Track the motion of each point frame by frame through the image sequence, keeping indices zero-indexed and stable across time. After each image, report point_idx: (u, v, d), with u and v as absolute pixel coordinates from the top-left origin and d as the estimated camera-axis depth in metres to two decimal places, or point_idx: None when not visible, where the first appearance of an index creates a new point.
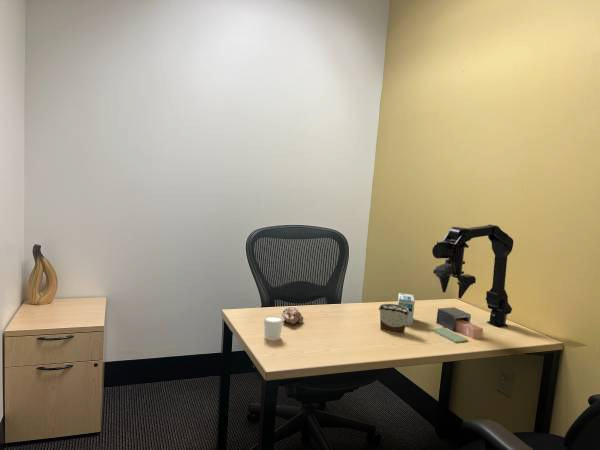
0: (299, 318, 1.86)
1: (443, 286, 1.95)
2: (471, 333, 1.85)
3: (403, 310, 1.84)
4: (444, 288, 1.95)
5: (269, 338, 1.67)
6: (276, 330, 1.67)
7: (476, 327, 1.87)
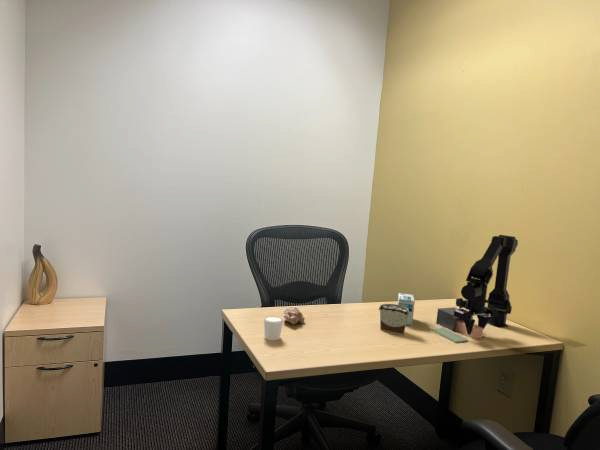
0: (300, 318, 1.86)
1: None
2: (471, 332, 1.85)
3: (403, 310, 1.84)
4: None
5: (269, 338, 1.67)
6: (276, 330, 1.67)
7: (476, 326, 1.87)
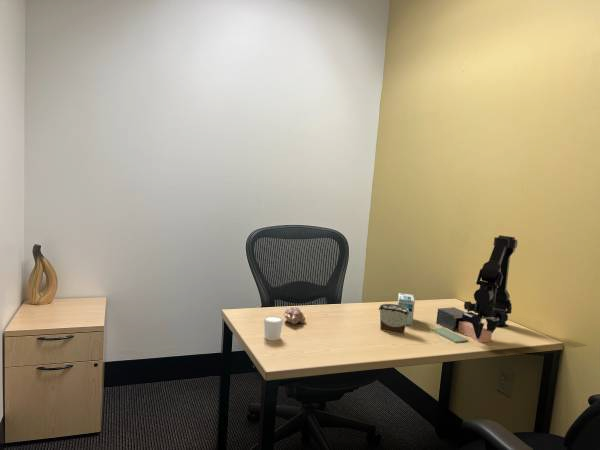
0: (301, 318, 1.86)
1: None
2: None
3: (403, 310, 1.84)
4: None
5: (269, 338, 1.67)
6: (276, 330, 1.67)
7: (485, 330, 1.82)
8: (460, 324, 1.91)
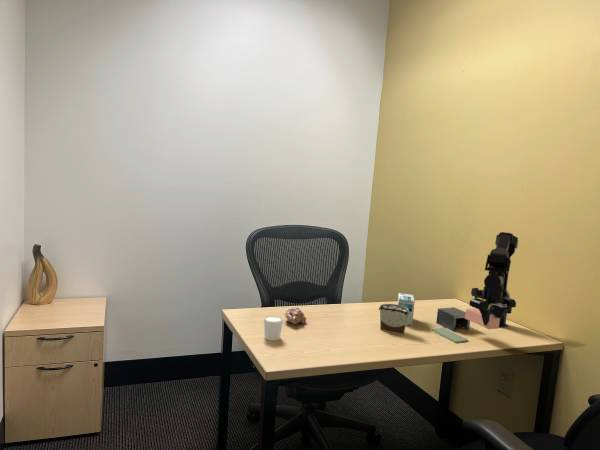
0: (302, 318, 1.86)
1: None
2: (487, 323, 1.77)
3: (403, 310, 1.84)
4: None
5: (269, 338, 1.67)
6: (276, 330, 1.67)
7: (492, 317, 1.79)
8: (467, 311, 1.88)
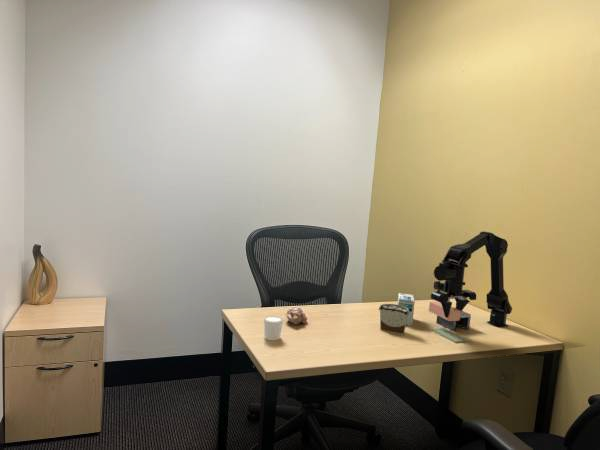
0: (302, 318, 1.86)
1: None
2: (448, 315, 1.83)
3: (403, 310, 1.84)
4: None
5: (269, 338, 1.67)
6: (276, 330, 1.67)
7: (454, 309, 1.84)
8: (430, 304, 1.93)
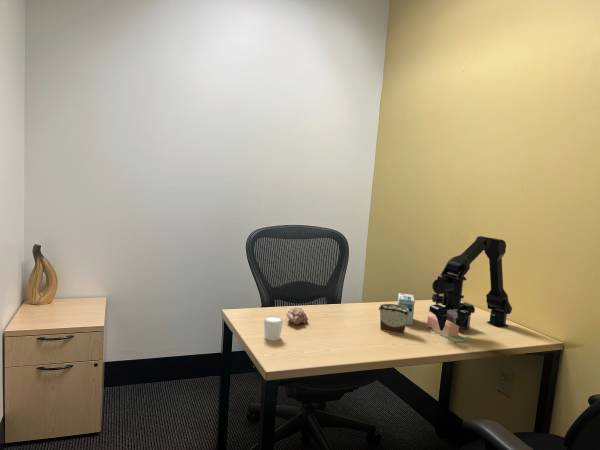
0: (303, 318, 1.86)
1: (458, 322, 1.87)
2: (447, 330, 1.83)
3: (403, 310, 1.84)
4: (458, 324, 1.87)
5: (269, 338, 1.67)
6: (276, 330, 1.67)
7: (452, 324, 1.85)
8: (429, 319, 1.93)
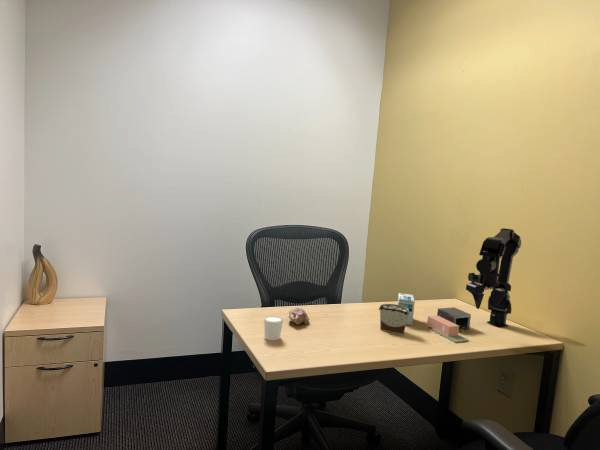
0: (304, 319, 1.86)
1: (494, 300, 1.89)
2: (447, 330, 1.83)
3: (403, 310, 1.84)
4: (494, 302, 1.89)
5: (269, 338, 1.67)
6: (276, 330, 1.67)
7: (452, 324, 1.85)
8: (429, 319, 1.93)
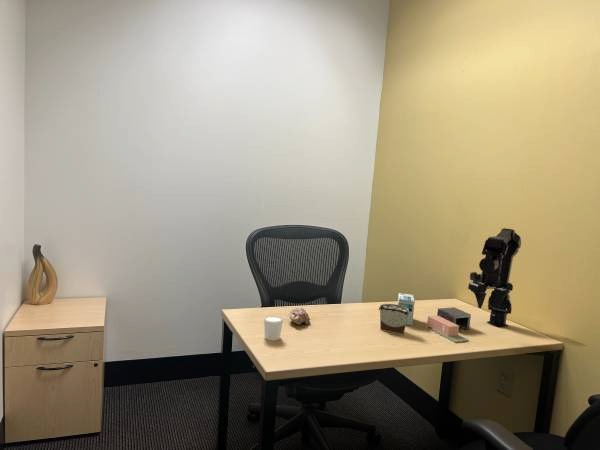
0: (305, 319, 1.86)
1: (496, 300, 1.89)
2: (447, 330, 1.83)
3: (403, 310, 1.84)
4: (496, 302, 1.89)
5: (269, 338, 1.67)
6: (276, 330, 1.67)
7: (452, 324, 1.85)
8: (429, 319, 1.93)
